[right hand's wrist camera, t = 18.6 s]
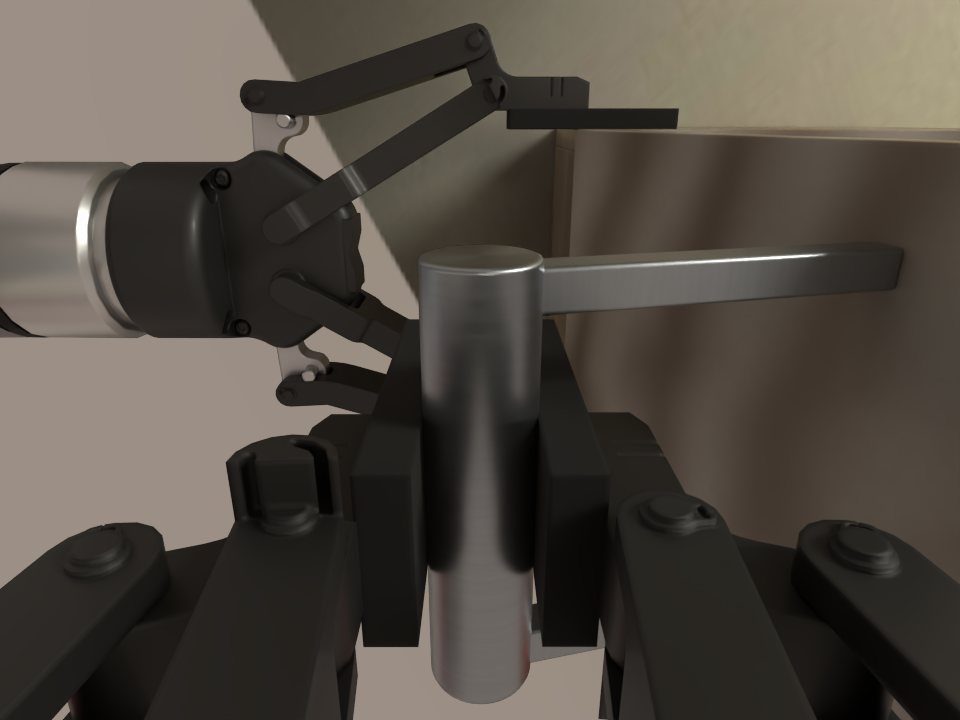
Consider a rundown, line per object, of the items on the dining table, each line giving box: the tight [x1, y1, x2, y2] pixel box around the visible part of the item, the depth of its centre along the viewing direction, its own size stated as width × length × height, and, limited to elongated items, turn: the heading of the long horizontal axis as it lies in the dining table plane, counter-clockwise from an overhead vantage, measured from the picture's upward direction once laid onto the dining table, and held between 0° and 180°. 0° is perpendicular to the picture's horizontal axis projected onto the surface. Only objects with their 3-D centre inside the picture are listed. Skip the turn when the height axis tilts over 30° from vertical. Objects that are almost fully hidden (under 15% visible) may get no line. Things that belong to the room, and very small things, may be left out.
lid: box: [417, 130, 960, 720], centre depth 16 cm, size 17×10×9 cm
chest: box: [549, 127, 960, 348], centre depth 29 cm, size 16×10×10 cm, turn 90°
